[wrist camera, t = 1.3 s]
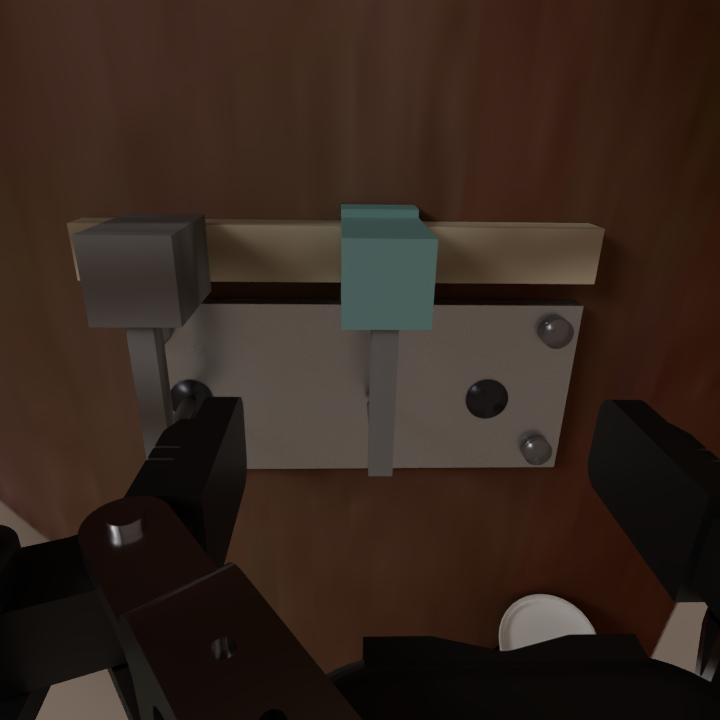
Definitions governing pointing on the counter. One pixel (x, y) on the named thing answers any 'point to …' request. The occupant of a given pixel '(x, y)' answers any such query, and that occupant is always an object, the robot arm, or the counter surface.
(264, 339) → the bolt plate
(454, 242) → the rail
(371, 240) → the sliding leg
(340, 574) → the counter surface
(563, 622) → the spread jar
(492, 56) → the counter surface
